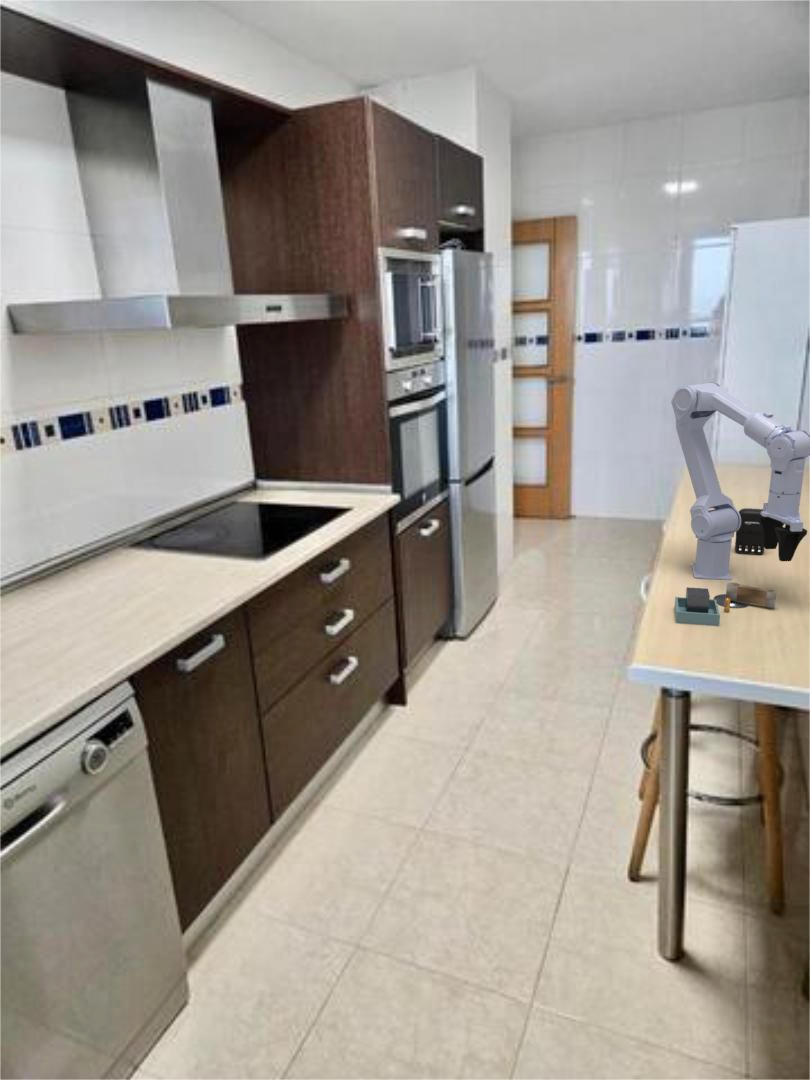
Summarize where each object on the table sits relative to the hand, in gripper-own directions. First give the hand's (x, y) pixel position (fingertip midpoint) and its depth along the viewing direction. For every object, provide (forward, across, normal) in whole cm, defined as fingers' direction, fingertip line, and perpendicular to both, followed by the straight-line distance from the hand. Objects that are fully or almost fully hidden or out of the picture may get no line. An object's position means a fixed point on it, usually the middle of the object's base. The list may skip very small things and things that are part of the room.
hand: (777, 554), depth 145 cm
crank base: (+9, +3, -9) cm, 14 cm away
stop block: (+9, +10, -19) cm, 23 cm away
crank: (+9, +3, -9) cm, 14 cm away
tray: (+9, +10, -19) cm, 23 cm away
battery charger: (+10, -28, +5) cm, 30 cm away
